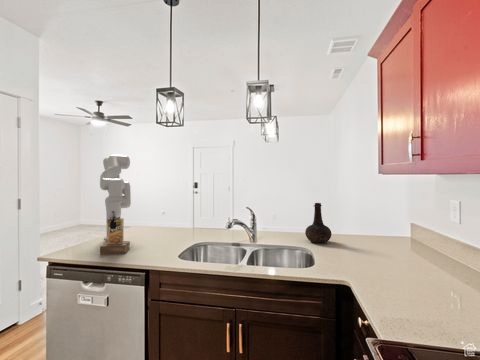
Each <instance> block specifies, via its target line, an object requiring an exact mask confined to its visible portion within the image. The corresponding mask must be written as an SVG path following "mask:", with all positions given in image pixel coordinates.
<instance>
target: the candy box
mask: <svg viewBox="0 0 480 360" xmlns="http://www.w3.org/2000/svg"><path fill="white" fill-rule="evenodd" d="M124 221H125V220H124V217H120V218H116V221H115V222H116V229H110V219H107V240H106V242H107V244H123V241H124V234H125V233H124V232H125V230H124Z"/></svg>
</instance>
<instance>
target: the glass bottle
mask: <svg viewBox="0 0 480 360" xmlns="http://www.w3.org/2000/svg"><path fill="white" fill-rule="evenodd" d="M313 207H314V214H313V216H314V217H313V221H312V224H311V225H308V226H307V227H306V228H305V237H306V238H307V240H308V241H310V242H311V243H314V244H325V243H327V242H329V241H330V240H331V238H332V231H331V229H330V227H328V226H326V225H325V224H324V221H323V217H322V216H323V215H322V203H321V202H315V203H314V205H313Z"/></svg>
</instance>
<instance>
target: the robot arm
mask: <svg viewBox="0 0 480 360" xmlns="http://www.w3.org/2000/svg"><path fill="white" fill-rule="evenodd" d="M102 163H103V168H104V171H103V172H102V173H101V174H100V176H99V177H100V178H99V186H100V189H101V190H102V191H107V193H108V196H107V197H106V198H105V199H104V203H105V205H104V206H105V211H106V212H105V214H106V224H105V225H106V234H105V236H104V237H103V239H104V240H106V241H107V219H110V229H116V222H115V221H116V218H121V215H122V209H129V208H130V207H131V205H132V204H131V203H132V201H131V199H132V198H131V195H132V194H131V192H132V191H131V185H130V182H129V181H125V180H124V179H123V178H121V177H120V174H121V173H122V170H127V169H129V168H130V164H131V159H130V157H129V156H128V155H123V154H111V155H109V156H108V157H105V158H103V160H102Z"/></svg>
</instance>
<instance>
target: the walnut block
mask: <svg viewBox="0 0 480 360" xmlns="http://www.w3.org/2000/svg"><path fill="white" fill-rule="evenodd" d="M130 245H131V241H130V240H123V244H107V241H106V242H103V244H101V245H100V246H99V255H100V256H105V255H126V253H128V251H129V250H130V249H131V247H130Z"/></svg>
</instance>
